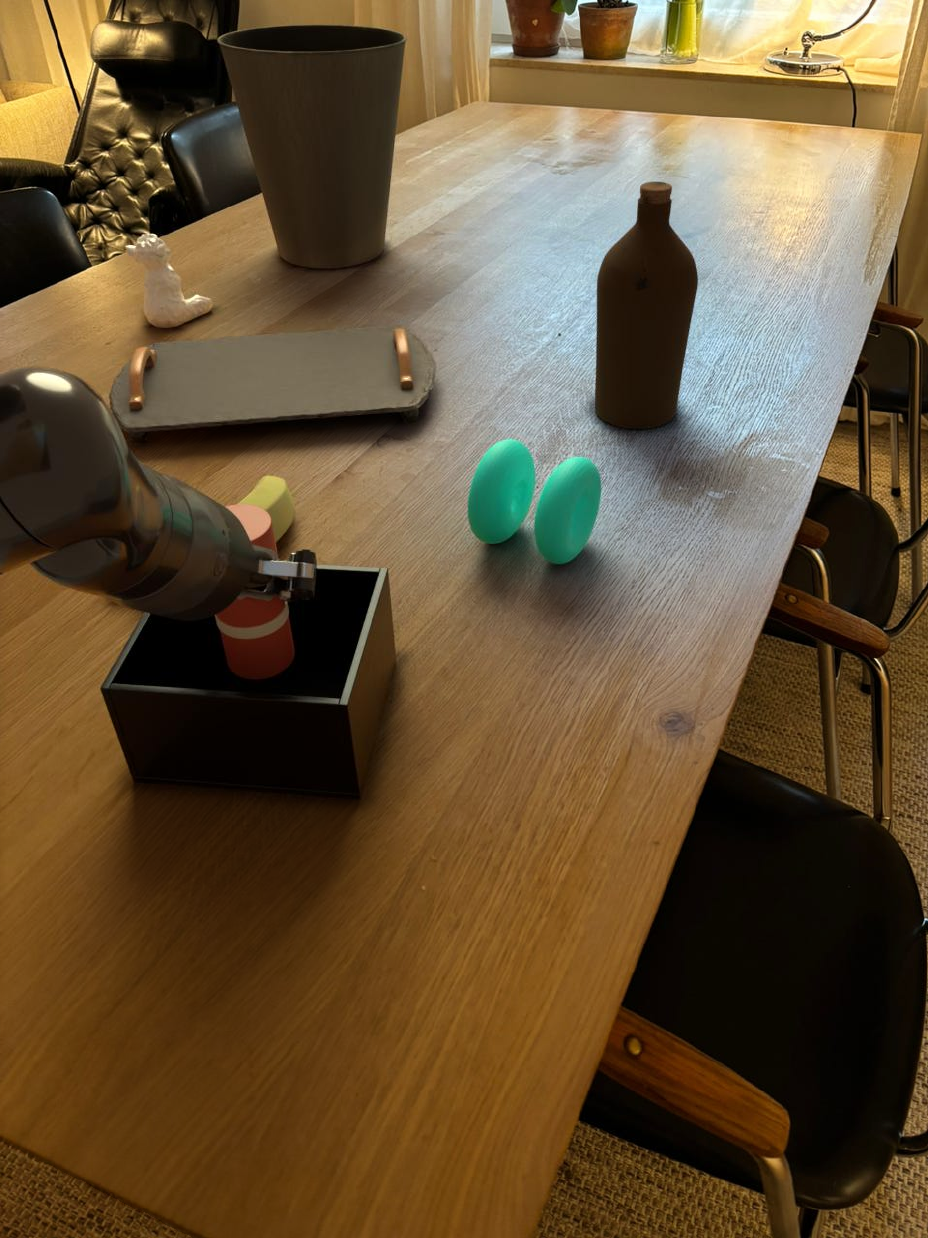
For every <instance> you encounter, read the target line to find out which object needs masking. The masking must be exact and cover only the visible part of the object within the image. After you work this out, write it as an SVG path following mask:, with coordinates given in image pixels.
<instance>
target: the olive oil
mask: <svg viewBox="0 0 928 1238" xmlns="http://www.w3.org/2000/svg"><path fill="white" fill-rule="evenodd" d="M672 191H673V186H672V185H671V184H669V183H668V182H664V181H647V182H644V183H642V184H641V185H640V186H639V197H638V199H637V206H636V207H637V209H636V222H635V223H634V225H633V226H632V227H631V228H630V229H629V230H628V231H626V233H624V234H623V236H622V237H620V238H619V240H617V242H615V243H614V244H613V245H612V246H611V248H609V250H608V251H607V252H606V254H605V256H604V258H603V259H602V262H601V264H600V266H599V270H598V273H597V279H596V337H595V339H596V344H595V386H594V411H595V413H596V415H597V416H598V417H599V418H600V419H601V420H602V421H603V422H605V423H607V424H610V425H612V426H615V427H618V428H622V429H630V430H647V429H654V428H658V427H661V426H664V425H665V424H667V423H669V422H671V421H672V420H673V419H674V418H675V416H676V413H677V408H678V403H679V402H678V401H679V395H680V388H681V381H682V376H683V369H684V364H685V359H686V352H687V346H688V341H689V335H690V331H691V330H690V329H691V325H692V318H693V314H694V308H695V303H696V297H697V291H698V286H699V275H698V268H697V263H696V260H695V256H694V255H693V253H692V252H691V251H690V248H689V247H687V245H686V244H685V242H683V240H682V239H681V238H680V236H679V235H678V234H677V232H675V230H674V229H673V227H672V226H671V224H670V217H671V210H672V202H673V201H672V199H671V195H672Z"/></svg>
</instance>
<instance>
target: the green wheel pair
mask: <svg viewBox="0 0 928 1238" xmlns="http://www.w3.org/2000/svg"><path fill="white" fill-rule="evenodd" d="M535 488H536V466H535V461H534V458H533V456H532V454H531V452H530V450H529V449H528V447H527V446H526V445H525V444H524V443H522V442H520V440H519V441H518V440H517V439H511V438H509V439H503V440H499V441H498V442H495V444H493V445H491V446H490V448H489V449H488V450H486V452H485V454H484V455H483V456H482V458H481V459H480V461H479V463H478V465H477V467H476V469H475V471H474V474H473V477H472V480H471V483H470V488H469V492H468V497H467V519H468V523H469V528H470V530H471V531H472V533H473V535H474V536H475V537H476V539H478V540H479V541H481V542H482V543H485V544H488V545H489V544H491V545H495V544H500V543H503V542H505V541H507V540H509V539H510V538H511V537H512V536H513V535H515V533H516V532H517V531H518V530H519V529H520V527H521V526H522V525H523V523H524V521H525V519H526V517H527V516H528V514H529V511H530V509H531V505H532V501H533V500H534V499H533V498H534V494H535ZM601 497H602V480H601V474H600V472H599V469H598V468H597V466H596V464H595V463H594V462H593V461H592V460H590V459H589V458H587V457H583V456H573V457H570V458H568V459H566V460H564V461H563V462H561V463H560V464H558V466H556V468H554V469H553V471H552V472H551V474H550V475H549V477H548V478H547V480H546V482H545V484H544V485H543V488H542V490H541V493H540V496H539V497H538V502H537V505H536V510H535V515H534V521H533V522H534V523H533V524H534V525H533V526H534V527H533V529H534V530H533V532H534V539H535V544H536V548H537V549H538V551H539V553H540V554H541V556H542V557H543V558H544V559H545V560H546V561H547V562H549V563H551V564H554V565H564V564H568V563H570V562H572V561H573V560H574V559H576V558H577V557H578V555H579V554H580V553H581V552H582V550H583V549H584V548H585V546H586V545H587V542H588V540H589V539H590V536H591V534H592V532H593V529H594V526H595V524H596V520H597V517H598V514H599V509H600V503H601V499H602V498H601Z"/></svg>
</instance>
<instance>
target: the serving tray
mask: <svg viewBox="0 0 928 1238" xmlns="http://www.w3.org/2000/svg"><path fill="white" fill-rule="evenodd" d="M436 371H437V364H436V361H435V358H434V356H433V354H432V353H431V351H429V349H428V347H427V345H426V343H424V341H423V340H422V339H420V338H419V337H418V336H417V335H416V334H414V333H413V332H412V331H411V330H410V329H408V328H406V327H403V326H400V325H384V326H383V325H382V326H366V327H359V328H357V327H355V328H354V327H353V328H334V329H323V330H317V331H305V332H304V331H303V332H301V331H300V332H298V331H297V332H296V331H295V332H294V331H293V332H292V331H289V332H276V333H268V334H267V333H266V334H255V335H239V336H232V335H231V336H223V337H213V338H199V339H196V340H195V339H192V340H191V339H185V340H184V339H183V340H173V341H160V342H155V343H151V344H149V345H147V346H141V347H137V348H136V349H135V351H134V353H133V355H132V357H131V358H130V359H129V361H128V362H126V364H124V365H123V366H122V369H121V371H119V373H118V374H116V376H115V377H114V380H113V382H112V383H113V384H112V385H111V388H110V392H109V395H108V399H109V405H110V410H111V412H112V413H113V415H114V417H115V419H116V421H117V423H118V425H119V427H120V429H121V431H123V432H125V433H127V435H128V438H129V439H130V440H131V441H132V442H133V443H134V444H135V445H143V444H145V443H146V442H147V439H148V438H149V437H148V436H149V432H158V431H174V430H184V429H185V430H186V429H197V428H198V429H199V428H212V427H222V426H235V425H250V424H260V423H277V422H290V421H299V420H300V421H301V420H314V419H324V418H325V419H327V418H338V417H350V416H351V417H352V416H362V415H376V414H389V413H399V414H400V417H401V418H402V419H403V421H404V422H405V423H408V424H411V423H415V422H416V419H417V418H418V417H419V408H420V407H421V406H422V405H423V404H424V403H425V402H426V401H427V400H428V398H429V396H430V393H431V392H432V391H433V388H434V386H435V383H436V380H435V377H436Z"/></svg>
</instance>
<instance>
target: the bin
mask: <svg viewBox="0 0 928 1238" xmlns="http://www.w3.org/2000/svg"><path fill="white" fill-rule="evenodd" d="M390 585H391V584H390V576H389V568H388V567H372V566H370V567H369V566H354V565H352V566H350V565H337V564H336V565H335V564H317V570H316V583H315V596H314V599H309V600H301V599H302V598H299V599H298V602H288V608H289V615H288V616H289V622H290V628H291V633H292V639H293V645H294V651H295V655H294V659H293V661H292V663H291V664H290V665H289V666H288V668H286V669H285V670H284V671H282V672H281V673H279V674H277V675H275V676H272V677H269V678H265V679H246V678H242V677H240V676H238V675H236V674H234V673H233V672H232V671H231V670H230V668H229V666H228V663H227V659H226V654H225V650H224V646H223V642H222V637H221V633H220V629H219V628H218V626H217V622H216V618H215V615H214V616H212V617H209V618H206V619H202V620H196V621H182V620H176V619H171V618H167V617H163V616H159V615H154V614H150V613H146V612H142V615H141V617H140V618H139V619H138V621H137V623H136V625H135V627H134V629H133V631H132V632H131V634H130V635H129V637H128V639H127V641H126V643H125V644H124V646H123V648H122V649H121V651H120V652H119V655H118V656H117V658H116V660H115V661H114V663H113V665H112V666H111V668H110V670H109V672H108V673H107V676H105V678H104V681H102V683H101V686H100V687H99V690H100V693H101V696H102V698H103V700H104V703H105V706H106V709H107V712H108V715H109V718H110V721H111V723H112V726H113V729H114V731H115V734H116V737H117V740H118V743H119V746H120V748H121V751H122V754H123V757H124V759H125V762H126V765H127V768H128V771H129V773H130V776H131V779H132V782H133V783H146V784H158V785H169V786H170V785H171V786H185V787H195V788H196V787H197V788H209V789H223V790H224V789H225V790H235V791H236V790H237V791H248V792H260V793H261V792H262V793H272V794H273V793H274V794H286V795H298V796H310V797H323V798H336V799H347V800H361V799H362V796H363V792H364V788H365V783H366V779H367V777H368V771H369V769H370V765H371V759H372V756H373V752H374V748H375V744H376V740H377V736H378V732H379V729H380V725H381V722H382V717H383V713H384V709H385V705H386V701H387V698H388V693H389V690H390V686H391V681H392V678H393V674H394V670H395V667H396V662H397V652H396V642H395V630H394V619H393V609H392V596H391V586H390Z"/></svg>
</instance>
